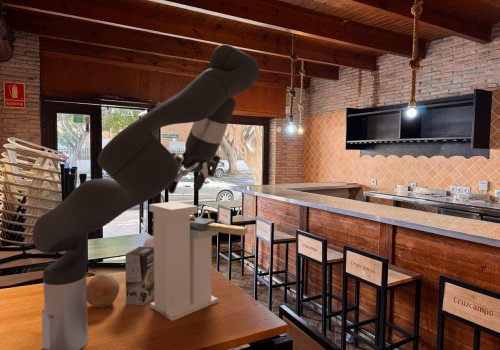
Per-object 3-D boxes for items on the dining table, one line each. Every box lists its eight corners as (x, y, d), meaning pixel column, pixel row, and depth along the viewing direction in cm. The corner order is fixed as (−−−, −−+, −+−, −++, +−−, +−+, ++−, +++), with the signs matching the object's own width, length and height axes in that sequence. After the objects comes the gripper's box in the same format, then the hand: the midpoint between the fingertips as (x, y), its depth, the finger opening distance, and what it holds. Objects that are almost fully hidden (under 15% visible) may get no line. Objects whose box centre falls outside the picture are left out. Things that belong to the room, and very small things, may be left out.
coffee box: (144, 306, 106) (143, 255, 104) (125, 304, 107) (124, 253, 106) (157, 293, 115) (157, 246, 113) (140, 292, 116) (139, 245, 115)
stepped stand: (172, 320, 97) (171, 209, 94) (150, 306, 105) (149, 204, 103) (217, 302, 109) (218, 203, 107) (194, 290, 117) (194, 198, 115)
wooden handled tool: (240, 236, 97) (240, 224, 97) (176, 227, 107) (176, 216, 107) (250, 232, 103) (250, 220, 103) (189, 223, 113) (189, 213, 113)
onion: (125, 305, 106) (125, 274, 105) (93, 316, 99) (92, 283, 98) (111, 296, 113) (110, 266, 112) (79, 306, 105) (78, 274, 104)
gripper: (218, 127, 87) (196, 179, 93) (173, 124, 76) (151, 183, 82) (237, 142, 83) (212, 195, 89) (192, 141, 72) (168, 202, 78)
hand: (183, 189), depth 86 cm, fingers open, 8 cm apart
